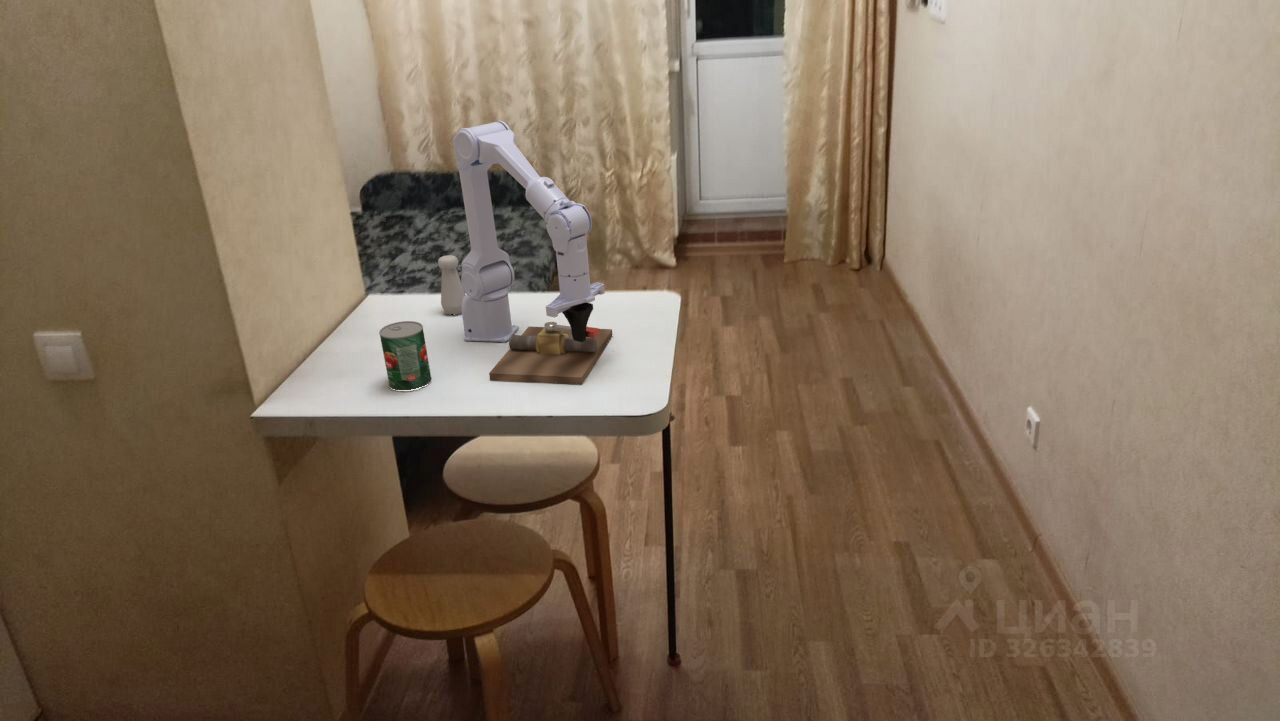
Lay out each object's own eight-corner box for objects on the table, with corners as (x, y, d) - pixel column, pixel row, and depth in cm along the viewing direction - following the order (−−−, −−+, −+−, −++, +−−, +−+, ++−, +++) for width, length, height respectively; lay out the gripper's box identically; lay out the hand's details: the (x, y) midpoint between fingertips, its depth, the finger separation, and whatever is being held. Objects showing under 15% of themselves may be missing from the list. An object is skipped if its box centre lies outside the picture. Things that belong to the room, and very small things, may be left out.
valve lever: (549, 326, 180) (548, 321, 180) (599, 333, 176) (599, 327, 175) (542, 331, 178) (542, 325, 178) (593, 338, 174) (593, 332, 173)
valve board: (489, 380, 173) (486, 353, 171) (529, 333, 193) (526, 308, 191) (582, 384, 169) (579, 357, 167) (612, 335, 189) (610, 310, 187)
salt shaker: (456, 305, 211) (448, 251, 206) (474, 310, 208) (466, 254, 202) (437, 314, 207) (428, 258, 201) (455, 318, 204) (446, 262, 198)
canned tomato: (440, 380, 174) (431, 326, 170) (406, 395, 169) (396, 340, 165) (414, 370, 179) (405, 317, 175) (380, 385, 174) (370, 331, 169)
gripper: (564, 287, 162) (570, 358, 167) (615, 264, 172) (619, 331, 178) (534, 281, 166) (542, 350, 171) (586, 258, 176) (591, 324, 182)
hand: (579, 340), depth 175 cm, fingers closed, pressing on valve lever
